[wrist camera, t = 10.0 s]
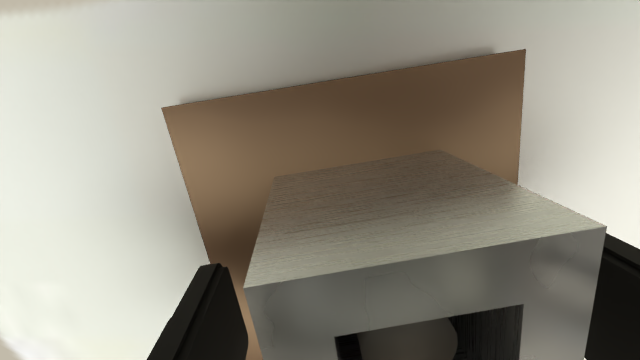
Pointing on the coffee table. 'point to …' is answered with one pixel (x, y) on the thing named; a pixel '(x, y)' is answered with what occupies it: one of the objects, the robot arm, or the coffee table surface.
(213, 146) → the shaft block
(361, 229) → the grey hollow cube
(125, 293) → the coffee table surface
